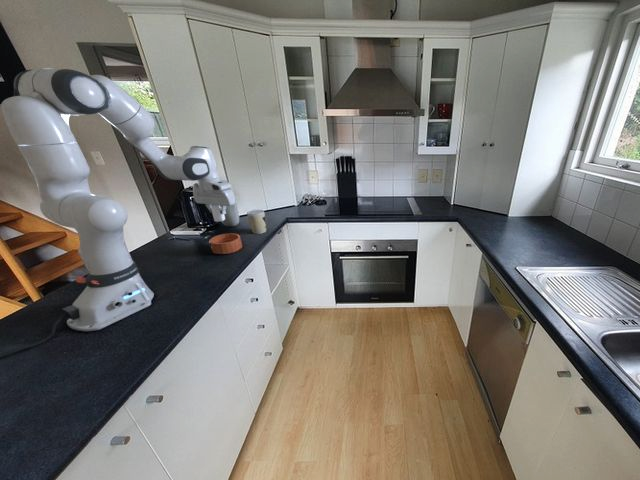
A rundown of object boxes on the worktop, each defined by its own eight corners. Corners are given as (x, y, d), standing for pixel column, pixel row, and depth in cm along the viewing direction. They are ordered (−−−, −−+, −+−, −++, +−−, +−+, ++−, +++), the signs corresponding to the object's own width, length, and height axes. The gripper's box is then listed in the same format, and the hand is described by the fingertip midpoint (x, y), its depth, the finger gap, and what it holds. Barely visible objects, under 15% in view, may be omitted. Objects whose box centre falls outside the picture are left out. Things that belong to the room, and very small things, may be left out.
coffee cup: (269, 232, 160) (266, 212, 155) (252, 235, 155) (248, 215, 150) (265, 227, 167) (262, 208, 161) (249, 230, 162) (245, 211, 157)
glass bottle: (219, 228, 165) (206, 181, 152) (229, 223, 174) (218, 178, 161) (234, 229, 164) (222, 182, 151) (244, 223, 173) (234, 178, 160)
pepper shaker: (217, 219, 133) (211, 200, 129) (225, 218, 134) (220, 199, 130) (214, 222, 129) (208, 202, 125) (223, 221, 130) (218, 202, 126)
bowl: (229, 256, 131) (225, 245, 128) (205, 253, 134) (202, 242, 131) (248, 245, 143) (246, 234, 140) (226, 242, 146) (224, 232, 143)
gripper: (185, 184, 123) (195, 213, 130) (223, 187, 119) (230, 217, 125) (197, 181, 129) (205, 209, 135) (233, 184, 124) (240, 213, 130)
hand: (218, 213), depth 130 cm, fingers closed on pepper shaker, 5 cm apart
